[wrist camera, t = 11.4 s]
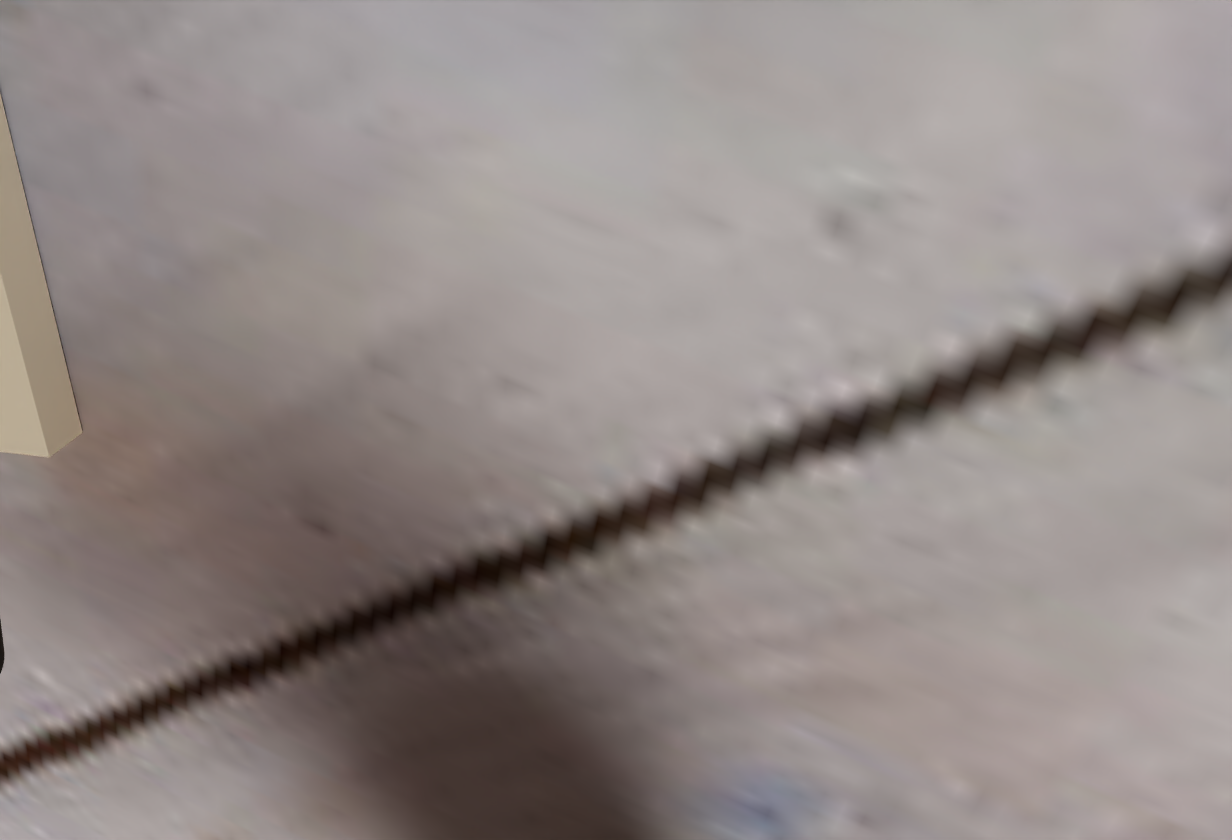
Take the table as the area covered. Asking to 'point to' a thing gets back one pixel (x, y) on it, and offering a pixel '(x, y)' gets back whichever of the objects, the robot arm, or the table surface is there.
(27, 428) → the tray
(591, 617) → the table surface
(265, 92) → the table surface
